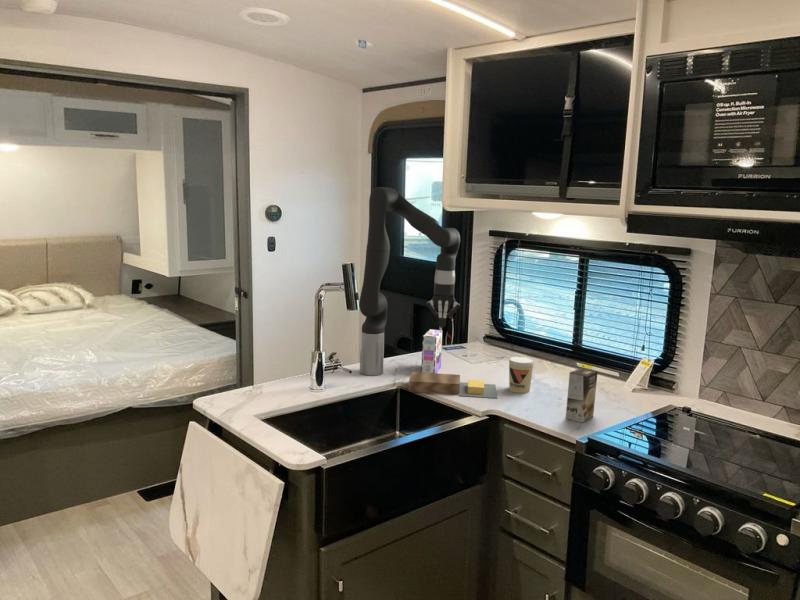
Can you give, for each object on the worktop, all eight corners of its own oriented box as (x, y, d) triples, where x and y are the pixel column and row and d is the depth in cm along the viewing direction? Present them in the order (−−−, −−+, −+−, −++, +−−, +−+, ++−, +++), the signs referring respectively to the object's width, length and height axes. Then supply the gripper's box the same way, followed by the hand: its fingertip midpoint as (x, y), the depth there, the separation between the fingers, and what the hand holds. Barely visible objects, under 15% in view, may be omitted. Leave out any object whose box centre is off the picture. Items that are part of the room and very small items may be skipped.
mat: (459, 396, 227) (459, 395, 227) (459, 383, 243) (459, 382, 243) (497, 398, 226) (497, 397, 226) (495, 385, 242) (495, 384, 242)
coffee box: (583, 423, 204) (587, 376, 202) (565, 418, 208) (568, 372, 206) (594, 416, 211) (598, 370, 209) (576, 411, 215) (580, 367, 213)
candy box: (434, 375, 252) (436, 336, 249) (420, 374, 253) (422, 335, 250) (441, 367, 265) (443, 329, 262) (428, 365, 266) (429, 328, 263)
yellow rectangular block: (484, 387, 229) (483, 394, 230) (483, 380, 238) (483, 386, 239) (468, 386, 230) (467, 393, 230) (468, 379, 239) (467, 385, 239)
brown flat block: (408, 391, 231) (408, 381, 231) (411, 381, 243) (411, 371, 242) (459, 394, 229) (459, 384, 229) (459, 384, 241) (460, 374, 240)
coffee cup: (503, 391, 235) (505, 360, 233) (511, 384, 243) (513, 355, 241) (527, 395, 231) (530, 364, 229) (534, 388, 239) (536, 358, 237)
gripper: (426, 282, 226) (423, 328, 229) (462, 284, 224) (459, 330, 227) (427, 279, 233) (425, 324, 236) (462, 281, 232) (459, 326, 235)
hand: (441, 327), depth 232 cm, fingers closed
